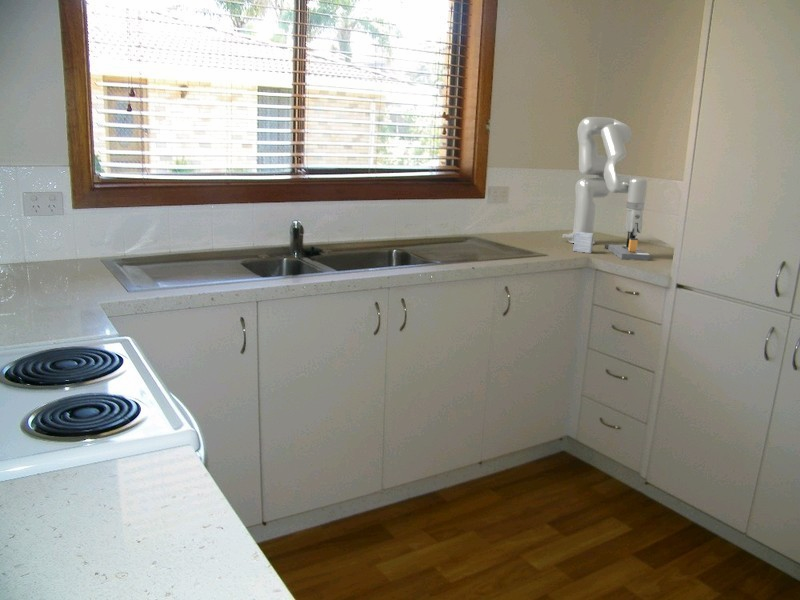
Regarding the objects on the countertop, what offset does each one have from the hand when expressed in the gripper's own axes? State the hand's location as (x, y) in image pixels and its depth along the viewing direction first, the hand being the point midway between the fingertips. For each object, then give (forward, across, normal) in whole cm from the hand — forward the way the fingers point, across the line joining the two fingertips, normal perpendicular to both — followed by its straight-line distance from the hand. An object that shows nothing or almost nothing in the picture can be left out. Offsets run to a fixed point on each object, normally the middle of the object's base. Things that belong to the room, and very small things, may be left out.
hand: (630, 247), depth 315 cm
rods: (+4, +17, 0) cm, 17 cm away
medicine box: (+4, +4, +20) cm, 21 cm away
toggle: (+4, -4, 0) cm, 6 cm away
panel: (+4, +2, 0) cm, 4 cm away
